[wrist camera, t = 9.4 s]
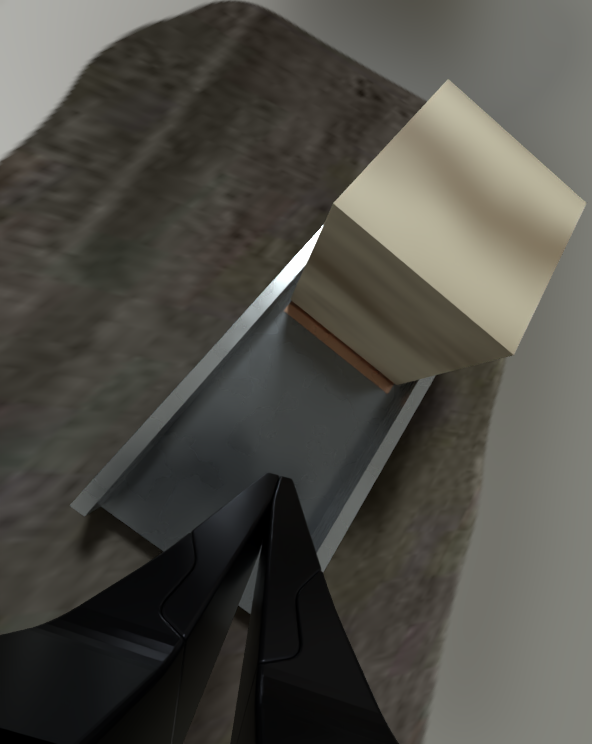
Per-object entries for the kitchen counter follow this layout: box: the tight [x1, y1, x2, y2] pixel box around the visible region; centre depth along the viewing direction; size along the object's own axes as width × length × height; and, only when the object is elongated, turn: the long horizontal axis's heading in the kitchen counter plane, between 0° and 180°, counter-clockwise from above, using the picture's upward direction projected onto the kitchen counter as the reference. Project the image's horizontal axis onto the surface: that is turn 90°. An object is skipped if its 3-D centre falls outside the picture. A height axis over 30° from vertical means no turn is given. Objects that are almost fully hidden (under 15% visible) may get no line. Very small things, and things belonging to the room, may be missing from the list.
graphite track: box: [70, 226, 436, 614], centre depth 17 cm, size 29×12×4 cm, turn 144°
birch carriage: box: [290, 79, 586, 385], centre depth 16 cm, size 10×9×8 cm
